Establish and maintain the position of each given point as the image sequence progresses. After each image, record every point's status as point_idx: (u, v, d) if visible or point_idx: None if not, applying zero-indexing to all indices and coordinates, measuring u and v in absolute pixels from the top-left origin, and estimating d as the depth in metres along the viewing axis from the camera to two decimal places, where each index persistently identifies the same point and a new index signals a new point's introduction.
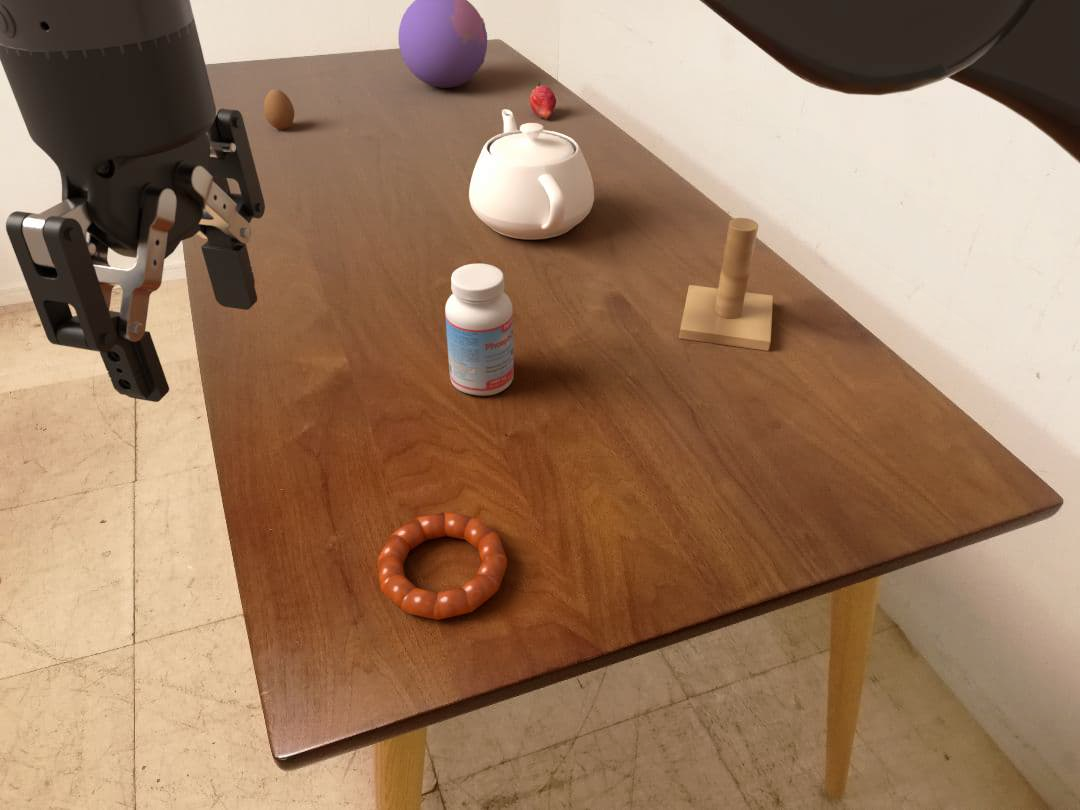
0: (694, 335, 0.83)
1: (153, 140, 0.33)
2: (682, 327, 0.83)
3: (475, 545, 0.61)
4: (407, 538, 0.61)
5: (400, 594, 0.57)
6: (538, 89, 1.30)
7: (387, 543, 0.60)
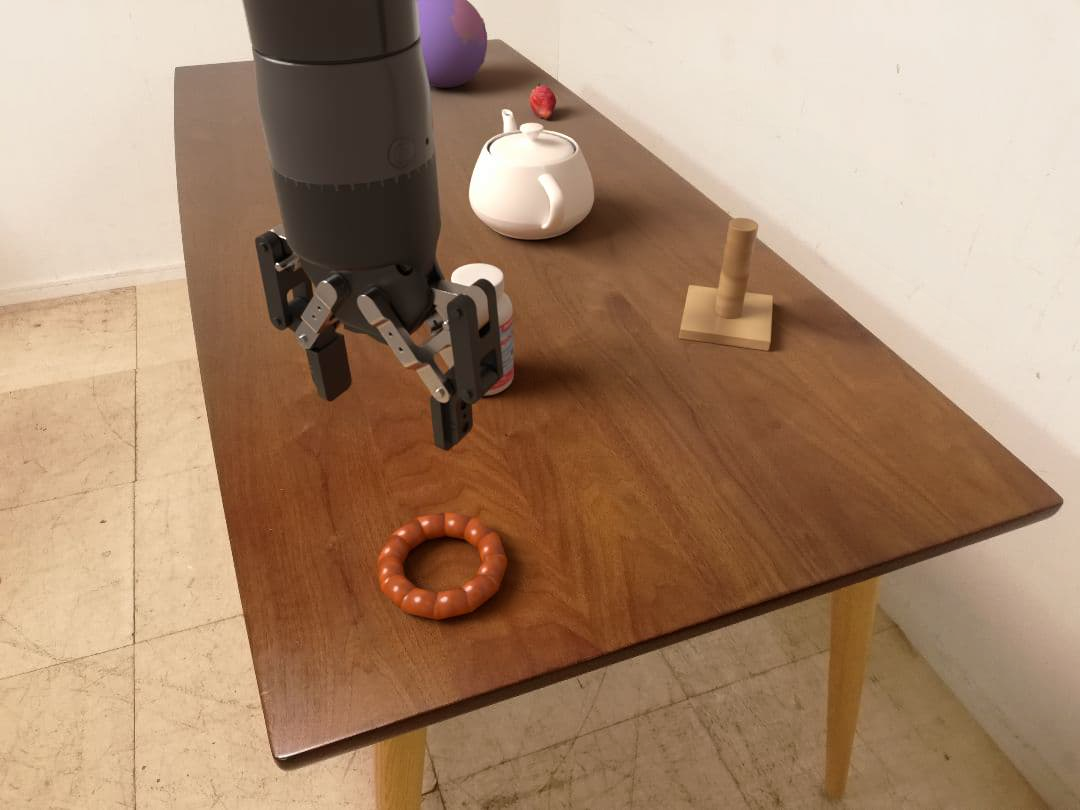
0: (694, 335, 0.83)
1: None
2: (682, 327, 0.83)
3: (475, 545, 0.61)
4: (407, 538, 0.61)
5: (400, 594, 0.57)
6: (538, 89, 1.30)
7: (387, 543, 0.60)
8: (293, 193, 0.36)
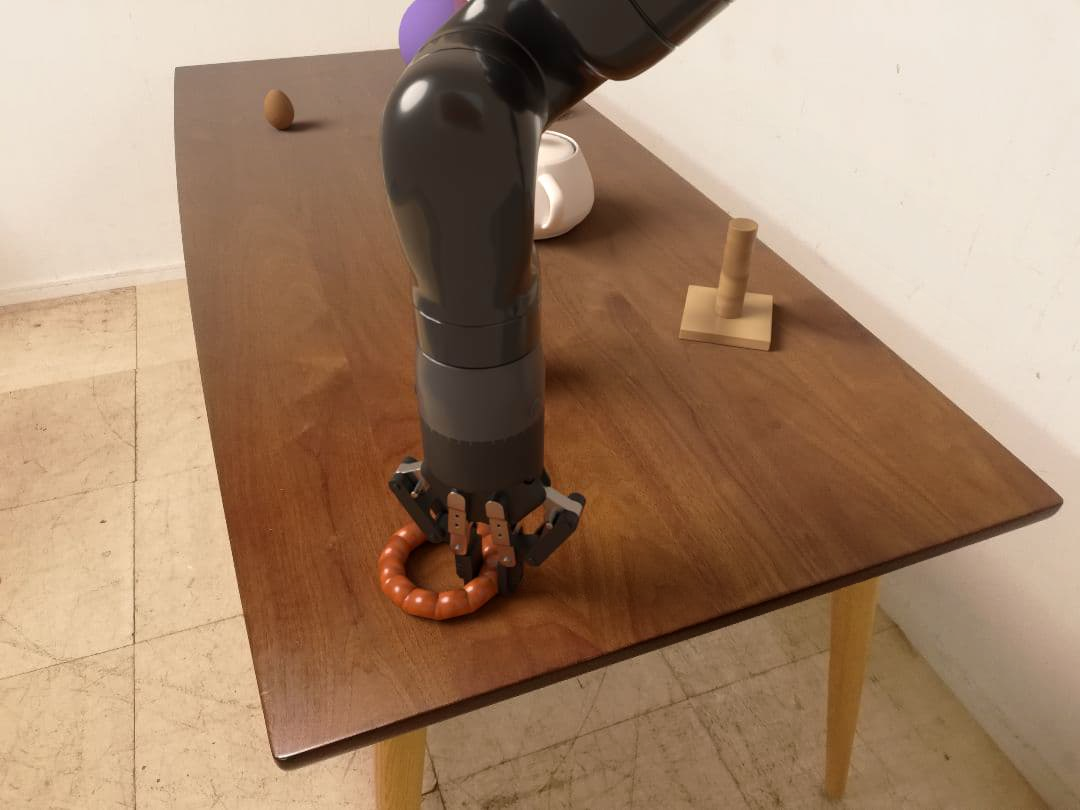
0: (694, 335, 0.83)
1: None
2: (682, 327, 0.83)
3: None
4: (408, 538, 0.60)
5: (401, 594, 0.56)
6: None
7: (388, 543, 0.60)
8: (454, 448, 0.46)
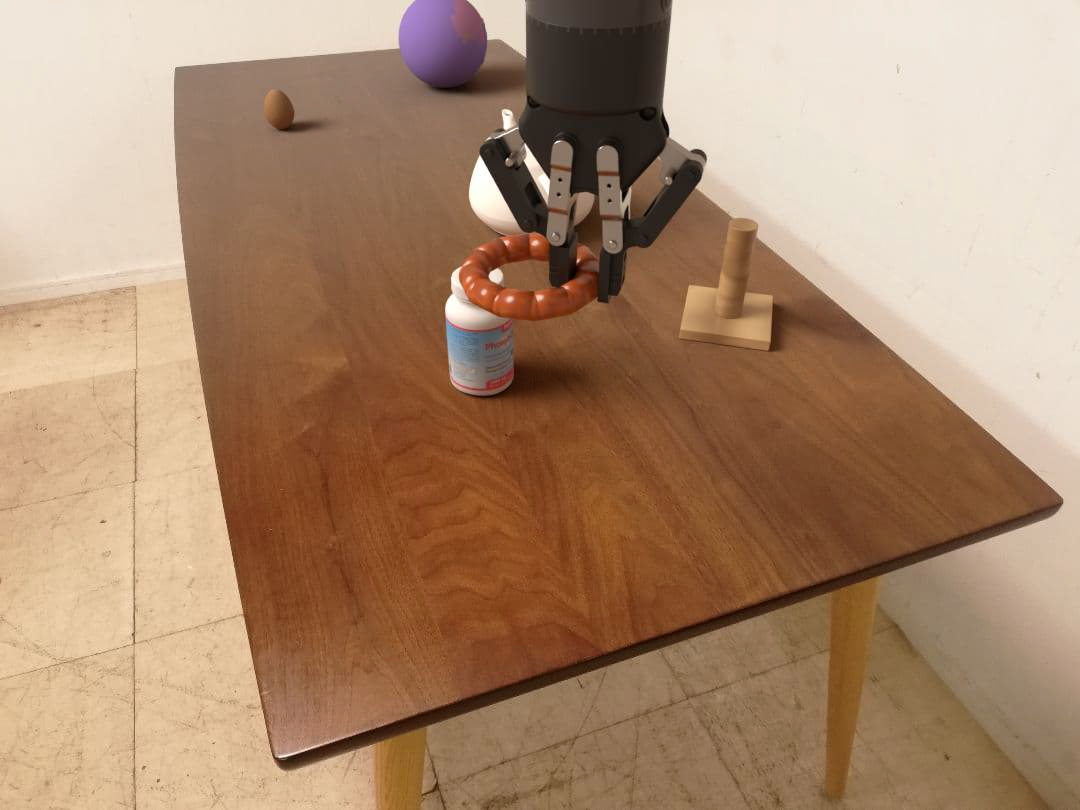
0: (694, 335, 0.83)
1: None
2: (682, 327, 0.83)
3: None
4: (490, 253, 0.54)
5: (491, 293, 0.50)
6: None
7: (468, 257, 0.54)
8: (574, 43, 0.40)
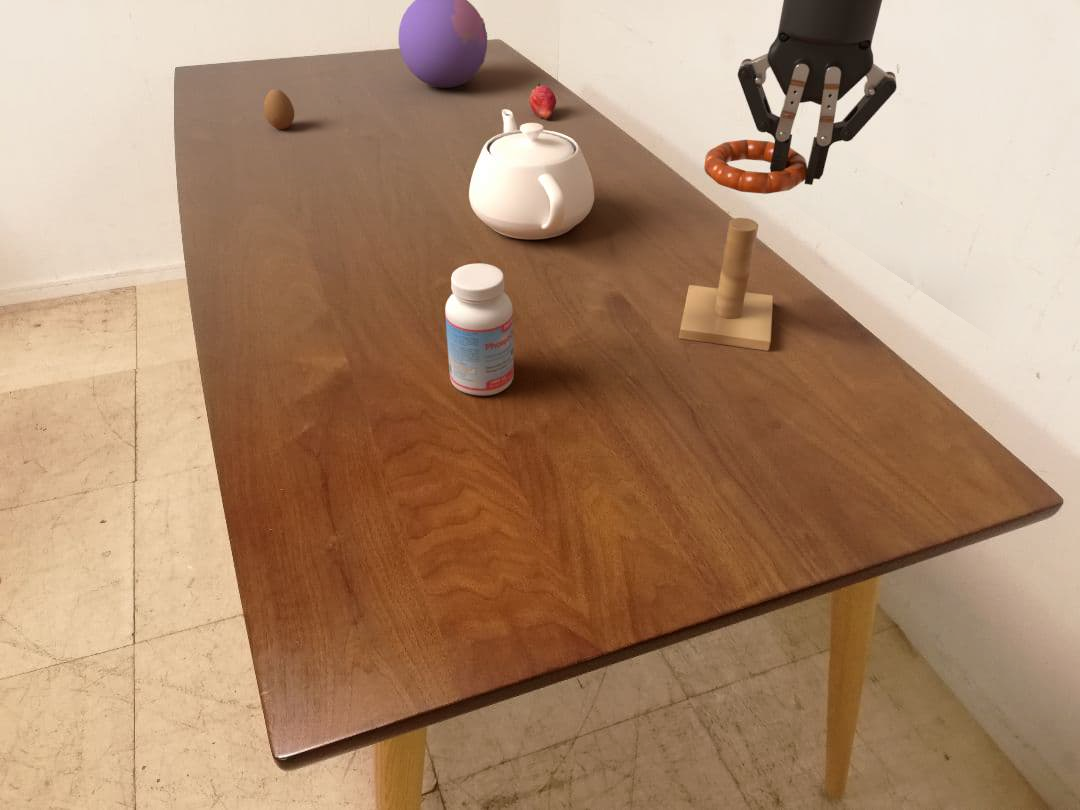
0: (694, 335, 0.83)
1: None
2: (682, 327, 0.83)
3: None
4: (723, 151, 0.76)
5: (737, 173, 0.72)
6: (538, 89, 1.30)
7: (709, 153, 0.76)
8: None
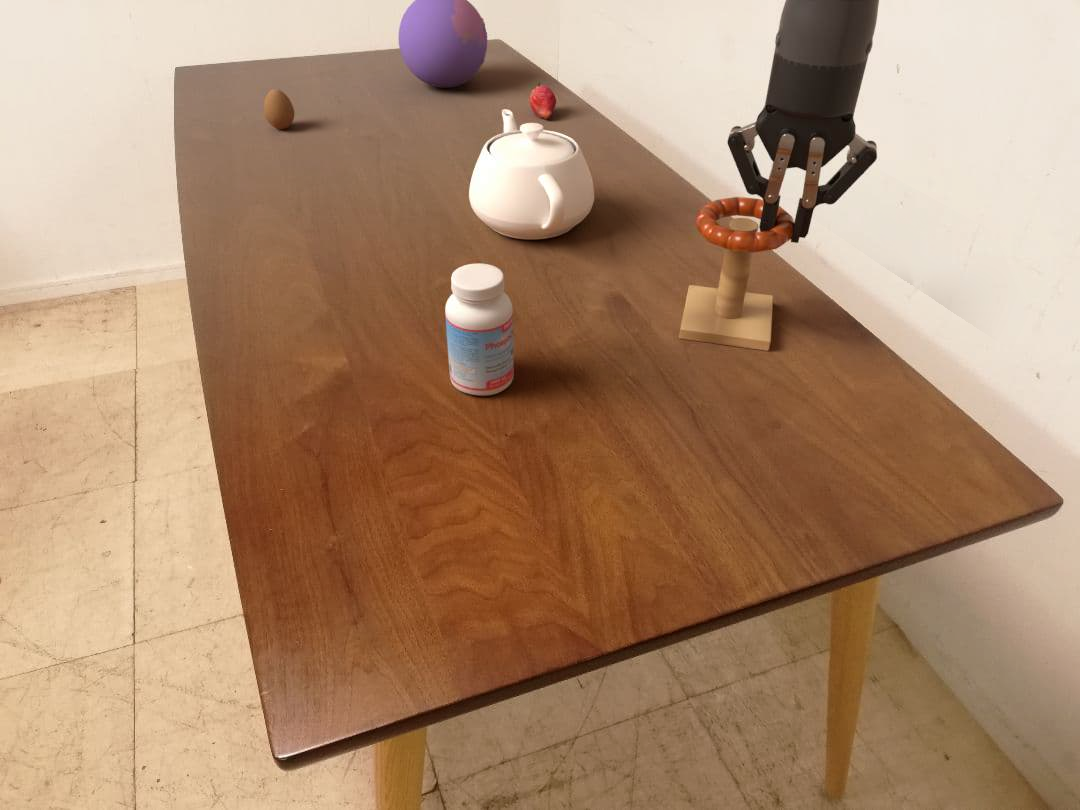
0: (694, 335, 0.83)
1: None
2: (682, 327, 0.83)
3: None
4: (715, 209, 0.80)
5: (726, 233, 0.76)
6: (538, 89, 1.30)
7: (701, 211, 0.80)
8: (813, 74, 0.66)
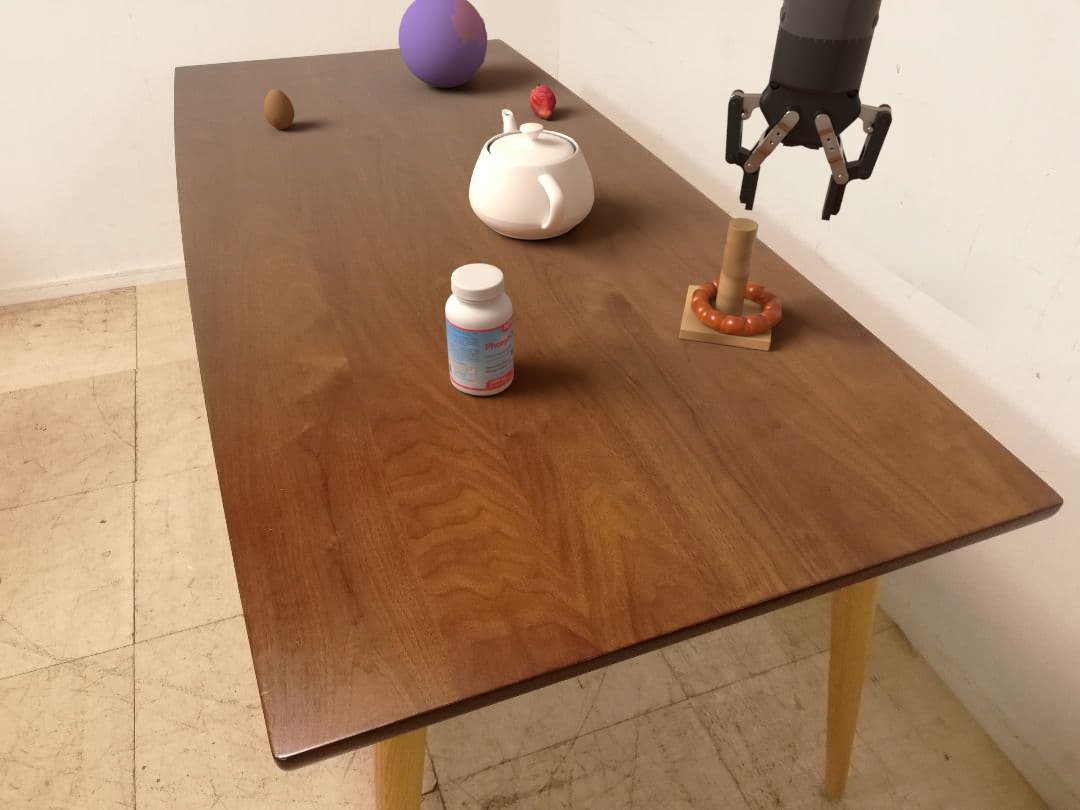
0: (694, 335, 0.83)
1: None
2: (682, 327, 0.83)
3: (754, 296, 0.86)
4: (708, 291, 0.86)
5: (719, 318, 0.82)
6: (538, 89, 1.30)
7: (695, 294, 0.85)
8: (818, 48, 0.65)
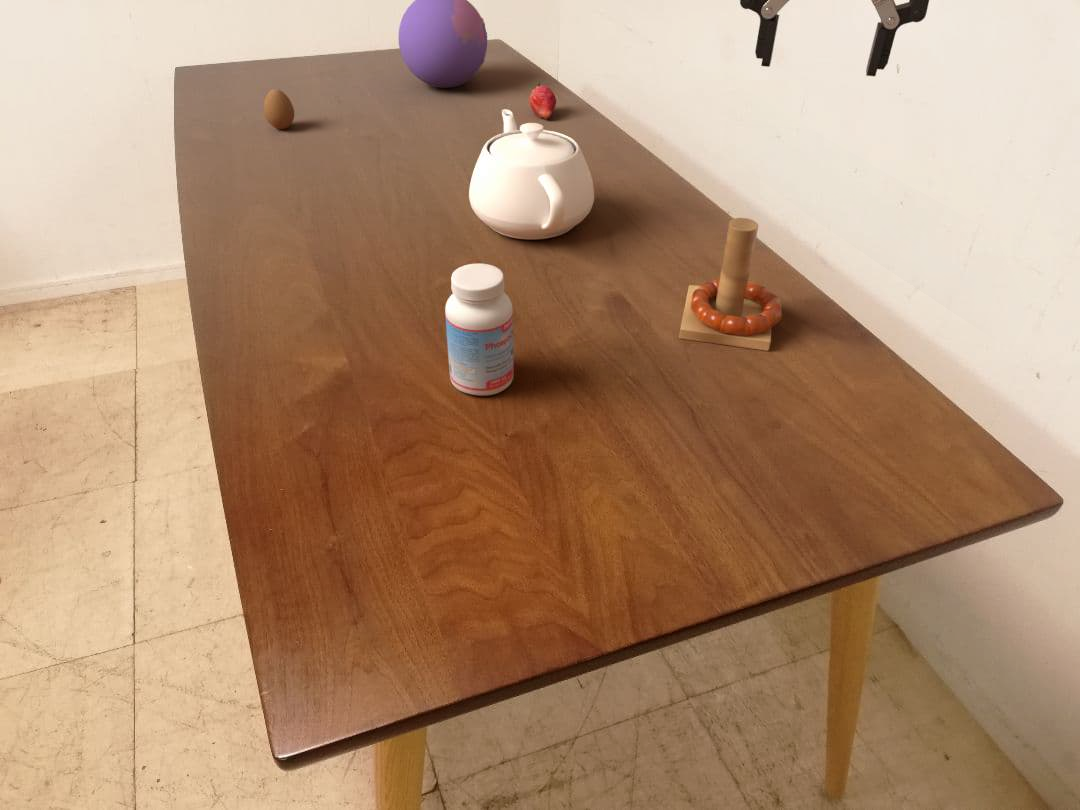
0: (694, 335, 0.83)
1: None
2: (682, 327, 0.83)
3: (754, 296, 0.86)
4: (708, 291, 0.86)
5: (719, 318, 0.82)
6: (538, 89, 1.30)
7: (695, 294, 0.85)
8: None
